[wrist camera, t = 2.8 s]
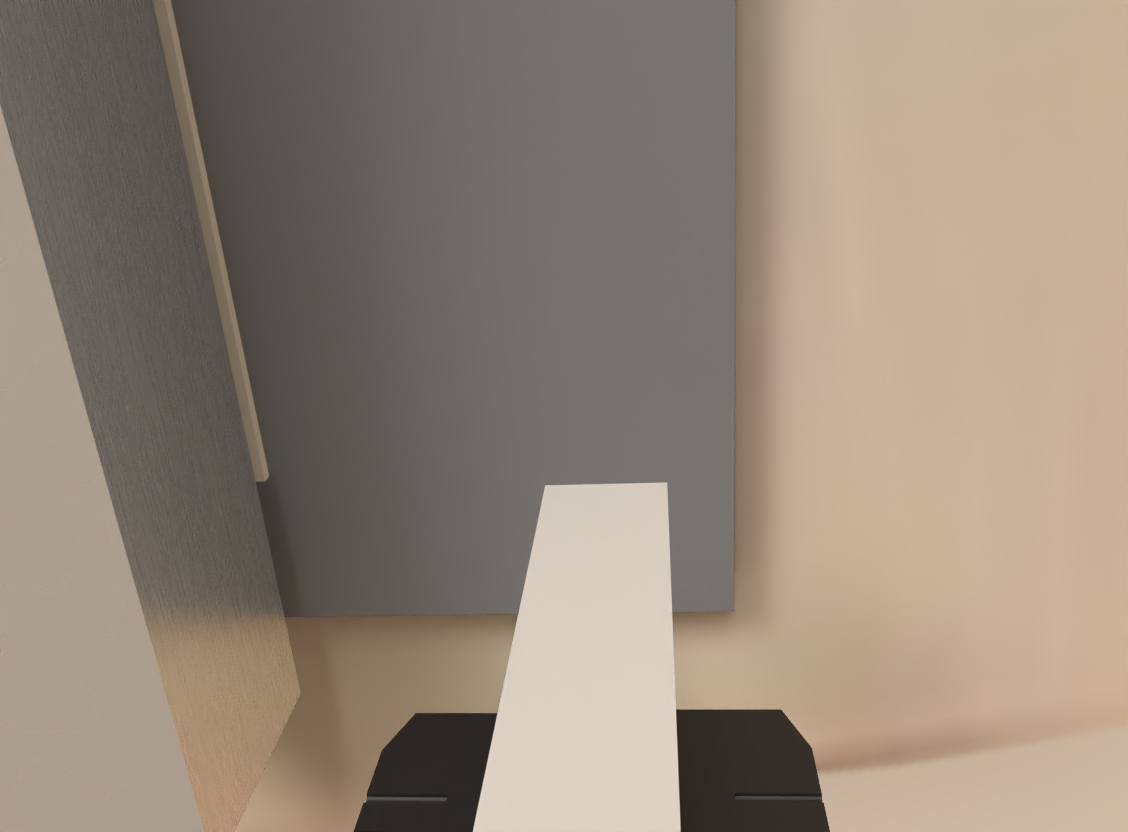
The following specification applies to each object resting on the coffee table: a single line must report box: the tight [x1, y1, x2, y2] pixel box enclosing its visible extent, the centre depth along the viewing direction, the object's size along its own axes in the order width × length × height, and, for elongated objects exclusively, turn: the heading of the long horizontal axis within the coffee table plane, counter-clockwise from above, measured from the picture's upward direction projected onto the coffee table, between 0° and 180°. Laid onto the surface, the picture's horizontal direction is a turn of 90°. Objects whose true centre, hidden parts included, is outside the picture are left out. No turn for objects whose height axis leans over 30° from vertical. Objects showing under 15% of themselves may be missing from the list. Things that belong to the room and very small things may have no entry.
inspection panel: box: [153, 0, 736, 617], centre depth 15 cm, size 20×20×1 cm
